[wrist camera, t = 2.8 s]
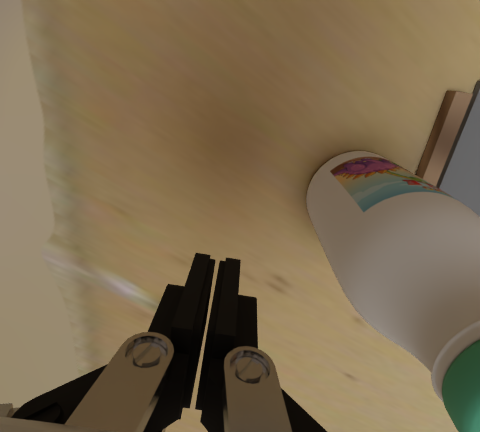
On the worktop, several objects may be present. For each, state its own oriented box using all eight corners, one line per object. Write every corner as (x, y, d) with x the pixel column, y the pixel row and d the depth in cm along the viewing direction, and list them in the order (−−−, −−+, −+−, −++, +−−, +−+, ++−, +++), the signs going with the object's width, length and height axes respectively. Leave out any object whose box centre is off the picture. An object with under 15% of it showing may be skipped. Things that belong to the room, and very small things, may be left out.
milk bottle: (361, 250, 29) (550, 538, 11) (287, 212, 28) (356, 460, 10) (418, 177, 27) (799, 392, 8) (339, 131, 25) (572, 259, 7)
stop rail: (447, 90, 24) (456, 91, 23) (462, 93, 24) (473, 94, 23) (371, 292, 31) (376, 300, 30) (384, 294, 31) (388, 302, 30)
